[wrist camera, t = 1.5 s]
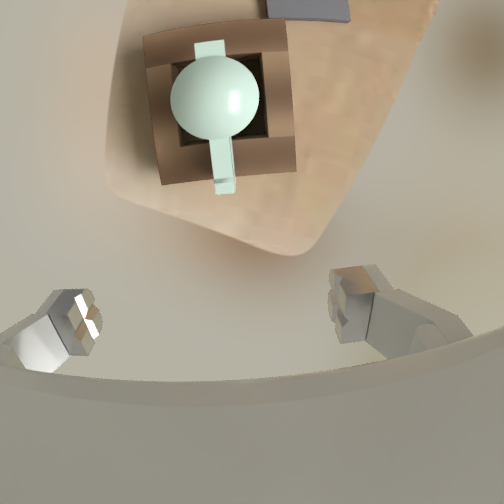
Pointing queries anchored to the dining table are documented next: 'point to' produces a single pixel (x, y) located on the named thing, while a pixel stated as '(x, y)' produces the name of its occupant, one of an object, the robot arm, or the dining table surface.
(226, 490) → the robot arm
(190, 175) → the stand
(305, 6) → the mat
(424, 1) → the dining table surface
